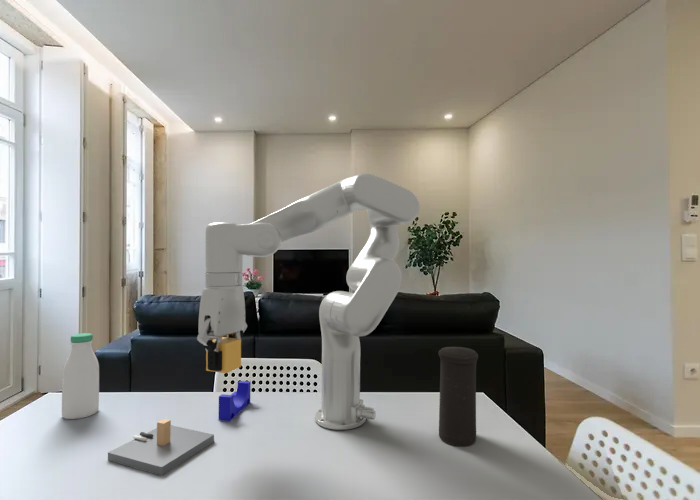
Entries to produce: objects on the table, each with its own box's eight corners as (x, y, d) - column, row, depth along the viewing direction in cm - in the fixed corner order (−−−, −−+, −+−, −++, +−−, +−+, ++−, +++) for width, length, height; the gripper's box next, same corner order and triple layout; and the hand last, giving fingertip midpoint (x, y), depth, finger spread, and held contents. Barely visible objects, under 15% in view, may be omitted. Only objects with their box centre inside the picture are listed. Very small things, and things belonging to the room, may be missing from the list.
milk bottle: (104, 412, 100) (105, 333, 100) (70, 422, 93) (71, 339, 94) (89, 405, 104) (91, 330, 104) (55, 415, 98) (57, 335, 98)
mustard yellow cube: (240, 366, 84) (241, 338, 84) (225, 373, 80) (225, 343, 80) (222, 364, 86) (222, 337, 86) (206, 370, 82) (206, 341, 82)
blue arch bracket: (234, 402, 108) (235, 380, 108) (250, 403, 107) (250, 381, 107) (212, 420, 96) (213, 396, 96) (229, 421, 95) (230, 397, 95)
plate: (214, 441, 85) (214, 413, 85) (161, 475, 72) (162, 442, 72) (163, 430, 90) (163, 404, 90) (106, 459, 77) (106, 429, 77)
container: (480, 433, 90) (480, 346, 90) (474, 451, 82) (475, 355, 82) (442, 426, 93) (442, 342, 94) (433, 442, 85) (434, 350, 86)
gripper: (235, 277, 92) (234, 354, 92) (179, 283, 77) (179, 376, 76) (262, 278, 90) (261, 358, 90) (210, 284, 74) (210, 380, 74)
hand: (223, 365), depth 83 cm, fingers closed on mustard yellow cube, 5 cm apart
